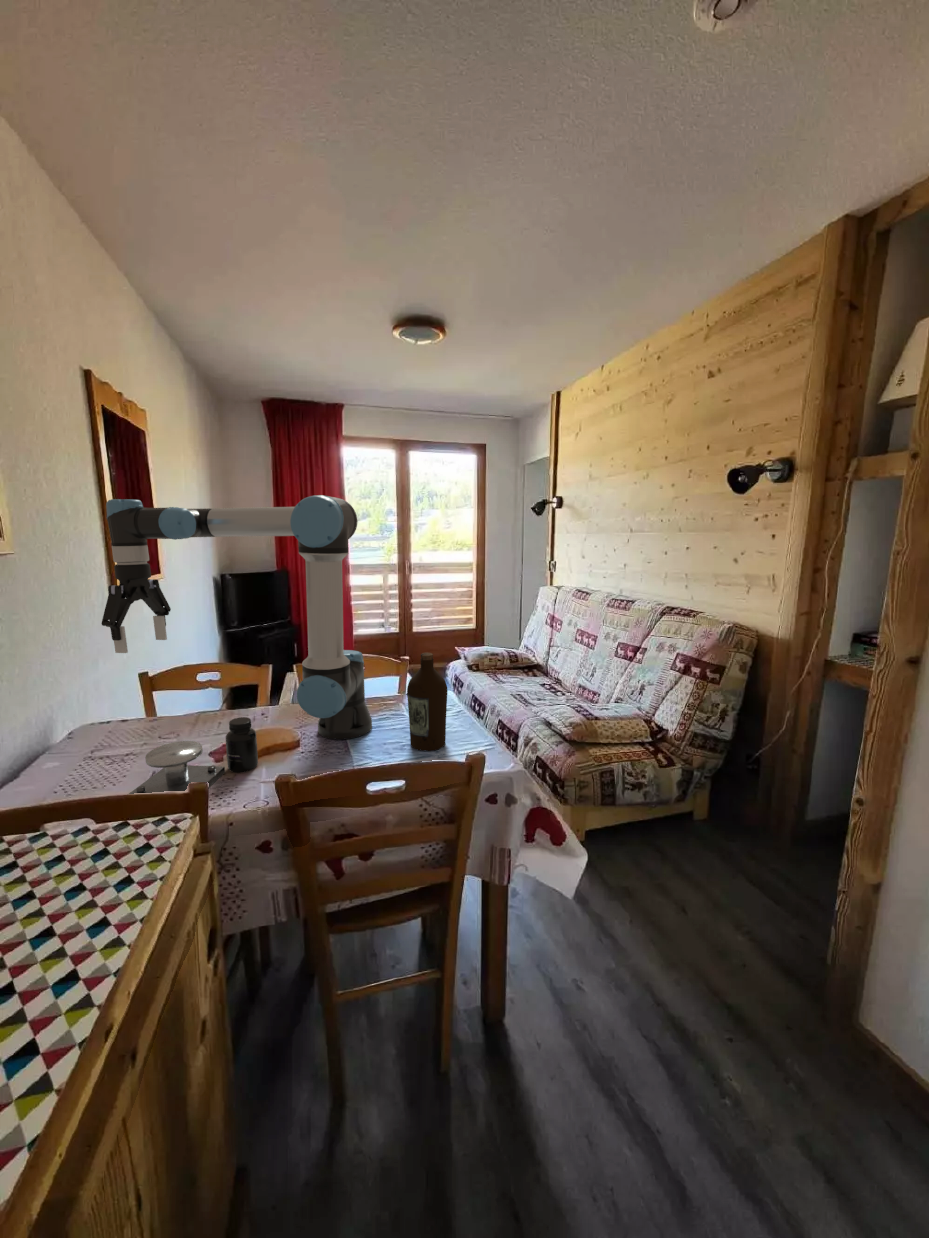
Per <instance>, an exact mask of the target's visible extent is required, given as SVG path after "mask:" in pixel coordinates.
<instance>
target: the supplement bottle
mask: <svg viewBox="0 0 929 1238" xmlns="http://www.w3.org/2000/svg"><path fill="white" fill-rule="evenodd" d="M228 729H229V731H228V732H227V733H226V735H225V749H226V761H227V762H226V765H227V769H228V771H229V772H231V773H235V774H241V773H242V774H243V773H246V772H250V771H252V770H254V769H255V768H256V767H257V766H258V764H259V758H258V753H259V752H258V743H257V742H258V741H257V738H258V737H257V732H256V730H255V729H254V728H253V727H252V720H251V718H250V717H246V716H241V717H234V718H233V719H230V720H229V721H228Z"/></svg>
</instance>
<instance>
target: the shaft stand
mask: <svg viewBox="0 0 929 1238" xmlns="http://www.w3.org/2000/svg"><path fill="white" fill-rule="evenodd" d="M203 751H204V750H203V745H202V743H200V742H198V741H194V740H181V741H174V742H169V743H166V744H165V743H164V744H163V745H159V746H157V747H155V748H153V749H152V750H150V751H148V753H146V755H145V757H144V758H145V764H146V766H149V767H151V768H158V769H159V768H160V770H158V771H157V772H156V773H154V774H153V775H152V776H151V777H149V778H148V779H147V780H145V781H144V782H143V783H141V784H140V785H139V786H137V787H136V788H133V790H132V791H131V792H129V793H128V794H134V793H152V792H164V791H185V790H186V789H187V786H188V784H189V783H191V782H208V783H209V788H210V787H211V786H212V785H213V784H215V782H216V781H218V780H219V779H220V778H221V777H222V776H223V775H224V774H226V767H225V766H220V765H219V766H216V765H189V764H188V763H190V762H193V761H194V760H196V759H198V758H199V757H200V756H202V754H203ZM161 768H162V769H161Z"/></svg>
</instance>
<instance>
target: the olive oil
mask: <svg viewBox="0 0 929 1238" xmlns="http://www.w3.org/2000/svg"><path fill="white" fill-rule="evenodd" d="M420 657H421V658H420V668H419V669H418V671H417V672H416V673H414V675H413V676H412V677H411V678H410V679H409V681H408V684H407V687H406V688H407V689H406V696H407V708H408V710H407V711H408V722H409V738H410V739H409V742H410V746H411V747H412V748H413V749H415V750H417V751H421V752H432V751H436V750H440V749H442V748H444V746H445V745H446V739H447V738H446V731H447V708H448V707H447V705H448V686H447V682H446V679H445V678H444V677H443V676H442V675H441V674H440V672H438V671H437V670H436V669H435V668H434V658H433V657H434V653H432V652H422V653H421V654H420Z"/></svg>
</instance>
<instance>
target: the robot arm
mask: <svg viewBox="0 0 929 1238" xmlns="http://www.w3.org/2000/svg"><path fill="white" fill-rule="evenodd" d="M105 507H106V520H107V521H106V522H107V525H108V531H109V538H110V546H111V550H112V551H111V552H112V558H113V559H112V560H113V562H114V563H116V564H114V566H113V568H114V576H115V577H114V578H115V579H116V580H118V581H119V584H118V585H117V584H116V585H115V584H114V585H112V584H111V585H109V586H108V587H107V589H108V590H107V591H108V596H107V599H106V604H105V608H104V612H103V616H102V619H101V626H103V627H107V628H109V629H110V635H111V639H112V641H113V646H114V651H115V654H128V653H129V651H128V643H127V637H126V629H125V626H122V625H123V623H124V621H125V618H126V616H127V614H128V611H129V609H130V607H131V605H132V604H134V603H135V602H137V601H139V600H142V601H143V603H144V604H146V605H147V606H148V608H149V609H150V610H151V611H152V612H153V613H154V615H153V616H152V620H153V627H154V635H155V636H154V637H155V641H156V640H157V641H167V640H168V637H167V635H168V634H167V629H166V628H167V627H166V626H167V622H166V616H169V615H170V612H171V609H172V608H171V606H170V605H169V602H168V600H167V599H166V596H165V595H164V593H163V591H162V588H161V587H160V582H159V579H158V578H157V579H150V578H151V577H152V572H151V564H150V563H148V562H149V561H150V555H149V547H148V540H152V539H157V540H158V539H159V540H183V539H185V540H186V539H189V538H219V537H221V538H223V537H226V538H227V537H229V538H230V537H231V538H232V537H293V536H294V537H295V539H297V542H298V543H297V545H298V548H297V549H298V554H299V555H300V556H301V557H302V558H303V559H304V561H305V587H306V588H305V589H306V617H307V618H306V620H307V622H306V623H307V624H306V625H307V648H308V649H307V651H308V652H307V653H308V655H307V657H306V658H305V659H304V660H303V661H302V664H301V665H302V667H301V669H302V680H301V681H300V683H299V684H298V686H297V689H296V700H297V703H298V705H299V707H300V708H301V709H302V711H304V712H305V713H306V715H307V714H308V715H309V716H310V717H313V718H318V722H317V733H318V734H319V735H320V736H321V737H323V738H325V739H330V740H351V739H354V738H359V737H361V736H364V735H366V734H367V733H369V732H370V731H371V730H372V728H373V720H372V716H371V713H370V710H369V709H368V706H367V704H366V700H365V699H366V696H365V695H366V694H365V667H364V665H365V661H364V655H363V653H362V652H361V651H358V650H352V649H344V597H343V595H344V592H343V591H344V590H343V586H344V585H343V560H344V558H346V557H347V556H348V555H349V540H350V539H351V538H352V537H353V536H354V535H355V533H356V530H357V527H358V515H357V513H356V511H355V509H354V507H353V506H352V505H351V504H350V503H349V502H348V501H347V500H345V499H342V498H339V497H336V496H335V497H334V496H329V495H323V494H318V495H309V496H307V497H304V498H303V499H301V500H300V501H299V502H298V503H296V505H295V506H272V507H271V506H269V507H264V506H263V507H228V508H227V507H222V508H218V507H217V508H215V507H214V508H185V507H177V506H176V507H175V506H169V507H144V505H143V502H142V501H141V500H140V499H133V498H132V499H127V498H126V499H125V498H124V499H123V498H122V499H121V498H120V499H119V498H117V499H116V498H113V499H109V500H107V502H106V505H105Z"/></svg>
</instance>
